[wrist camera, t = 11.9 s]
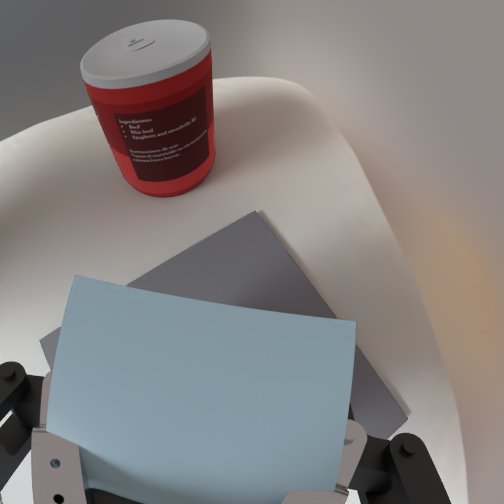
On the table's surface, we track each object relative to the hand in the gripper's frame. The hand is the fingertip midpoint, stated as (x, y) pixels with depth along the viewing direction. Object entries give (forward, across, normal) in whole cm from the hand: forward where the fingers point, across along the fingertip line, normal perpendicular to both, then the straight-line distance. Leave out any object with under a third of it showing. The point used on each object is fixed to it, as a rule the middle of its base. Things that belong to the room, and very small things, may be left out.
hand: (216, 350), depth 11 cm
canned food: (+15, +7, -5) cm, 17 cm away
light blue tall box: (+1, 0, +5) cm, 5 cm away
